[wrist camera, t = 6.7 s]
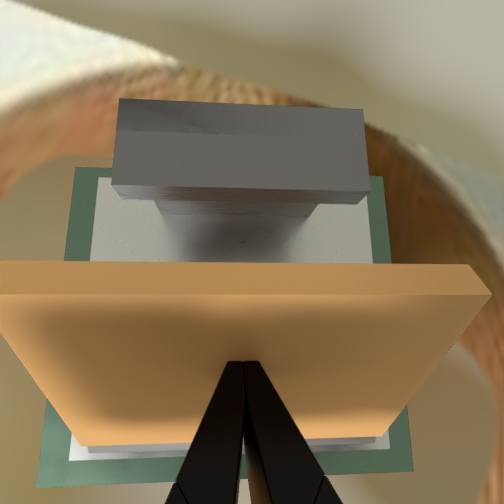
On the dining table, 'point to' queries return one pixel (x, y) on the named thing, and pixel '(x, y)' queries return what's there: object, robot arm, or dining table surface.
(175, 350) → the tan square pad
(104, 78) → the dining table surface
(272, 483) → the robot arm
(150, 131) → the grey and green stand
